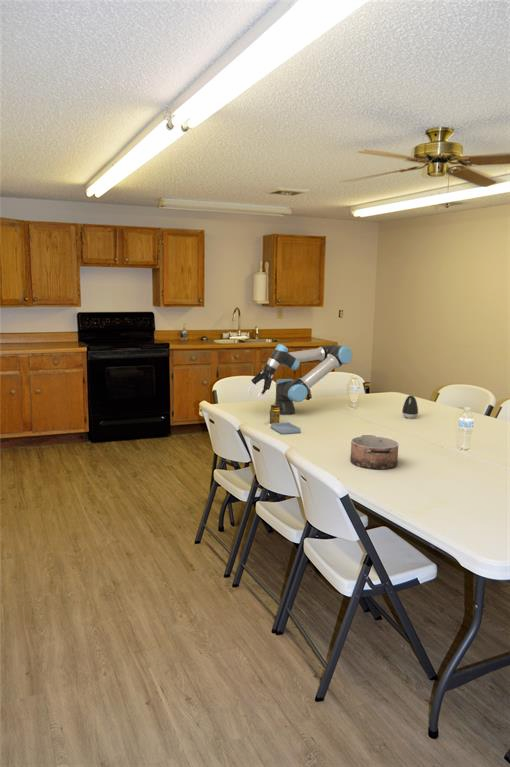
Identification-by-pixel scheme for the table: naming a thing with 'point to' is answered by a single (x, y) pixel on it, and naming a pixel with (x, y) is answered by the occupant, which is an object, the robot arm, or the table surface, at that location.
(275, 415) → the condiment
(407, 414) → the black bullet-shaped dome
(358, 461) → the cooking pot
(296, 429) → the tray
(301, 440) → the table surface
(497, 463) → the table surface
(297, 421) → the table surface
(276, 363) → the robot arm
